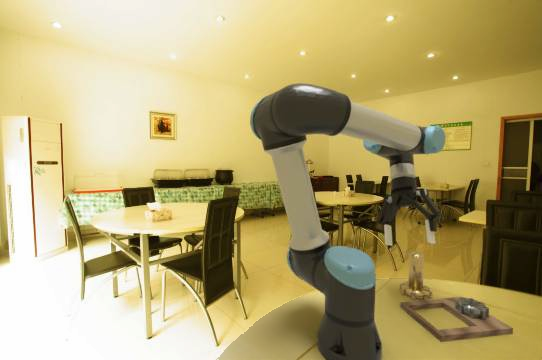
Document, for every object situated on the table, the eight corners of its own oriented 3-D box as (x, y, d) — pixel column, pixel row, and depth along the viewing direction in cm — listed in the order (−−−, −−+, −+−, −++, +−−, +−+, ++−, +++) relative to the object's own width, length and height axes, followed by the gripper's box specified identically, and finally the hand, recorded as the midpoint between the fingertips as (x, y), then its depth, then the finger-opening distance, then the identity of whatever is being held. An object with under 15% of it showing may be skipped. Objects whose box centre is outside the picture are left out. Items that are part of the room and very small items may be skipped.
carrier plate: (440, 341, 65) (440, 335, 64) (400, 306, 80) (400, 302, 80) (512, 333, 67) (512, 328, 67) (459, 301, 83) (460, 296, 83)
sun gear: (471, 321, 70) (472, 312, 70) (449, 306, 78) (449, 298, 78) (495, 318, 71) (496, 310, 71) (471, 303, 79) (471, 296, 79)
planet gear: (412, 301, 83) (413, 259, 82) (393, 287, 93) (394, 249, 92) (439, 299, 85) (440, 257, 84) (418, 285, 94) (419, 248, 93)
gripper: (449, 172, 77) (460, 244, 70) (378, 189, 98) (381, 247, 91) (435, 165, 74) (446, 240, 67) (364, 185, 94) (366, 244, 87)
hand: (408, 244), depth 79 cm, fingers open, 13 cm apart
